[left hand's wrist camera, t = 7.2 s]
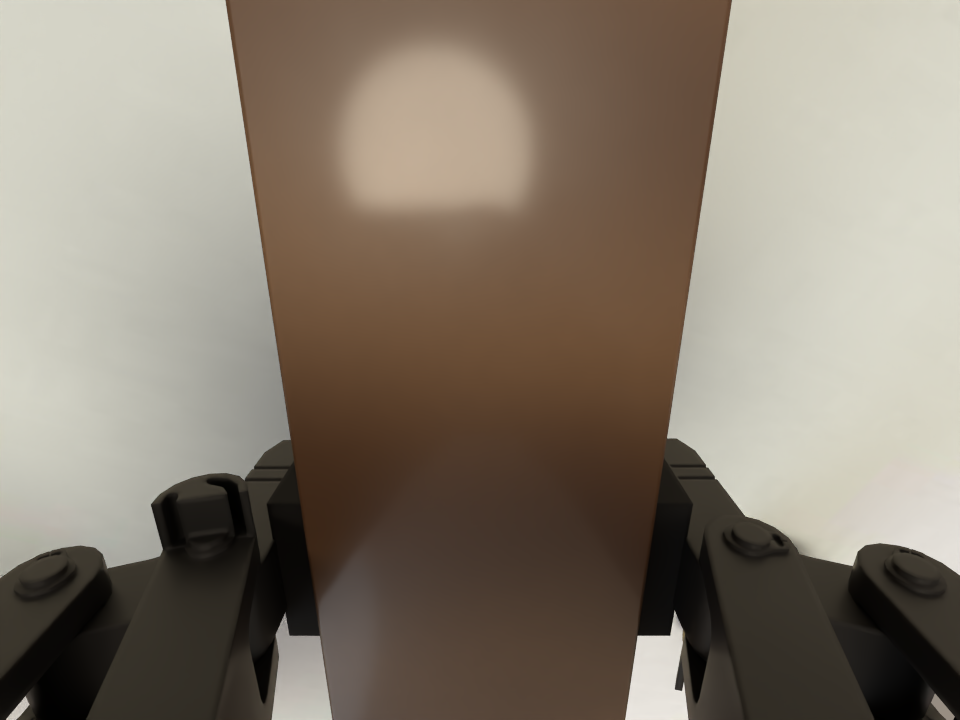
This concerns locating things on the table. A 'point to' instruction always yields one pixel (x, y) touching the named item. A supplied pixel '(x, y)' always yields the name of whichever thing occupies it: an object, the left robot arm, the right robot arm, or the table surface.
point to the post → (478, 327)
